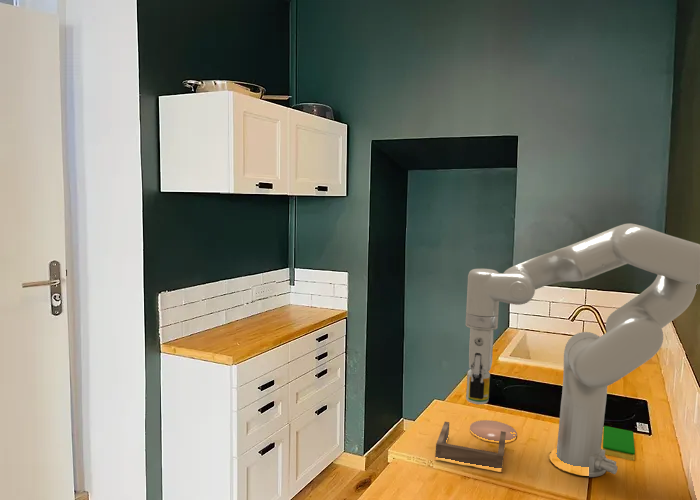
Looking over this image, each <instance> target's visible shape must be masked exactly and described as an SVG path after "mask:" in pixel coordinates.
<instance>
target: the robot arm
mask: <svg viewBox="0 0 700 500" xmlns="http://www.w3.org/2000/svg"><path fill="white" fill-rule="evenodd" d="M625 265H630V266H633V267H635V268H638V269H641V270H644V271H647V272H650V273H652V274H655V275H657V276H656V277H655V279H654V280H653V282H652V283H651V284H650V285H649V286H648V287H647V288H645V289H644V290H643V291H642V292H640V293H639V294H638V295H636V296H635V297H634V298H631V299H630V300H629V301H627V302H626V303H625V304H624V305H621V306H620V307H619V308H617V309H616V310H614V311H613V312H611V313H610V314H609V316H608V317H607V318H606V320H605V321H606V322H605V330H606V332H605V333H603V334H602V335H601V336H599V335H598V334H596V333H593V332H588V331H582V332H577V333H575V334H574V335H572V336H571V337H570V338H569V339H568V340H567V342H566V343H565V346H564V351H563V381H562V391H561V393H562V394H561V400H560V411H559V421H558V422H559V423H558V434H557V435H558V436H557V444H556V448H557V453H556V454H557V457H558V458H559V459H560V460H561V461H563V462H564V463H567V464H570V465H573V466H581V467H589V477H588V478H596V477H600V476H603V475H604V474H606V472H608V473H610V474H613V475H616V474H617V472H618V466H617V461H615V460H613V459H610V458H607V456H606V455H605V450H603V449H602V445H603V429H604V426H605V425H604V423H605V414H606V405H607V395H608V387H609V386H610V385H613V384H614V383H616V382H618V381H620V380H621V379H623V378H625V377H626V376H627V375H628V374H630V373H632V372H633V371H635V370H636V369H637V368H639V367H641V366H642V365H644V364H646V362H649V361H650V360H651V359H652V358H653V357H654V356H655V355H656V354H657V353H658V352H659V351H660V349H661V347H662V345H663V343H664V332H663V328H664V327H666V326H667V325H669V324H670V323H671V322H672V321H674V320H675V319H677V318H678V317H679V316H680V315H682V314H683V313H684V312H685V311H686V310H687V309H688V308H689V307H690V305H691V304H692V302H693V300H694V299H695V298H694V297H695V295H696V292H697V289H696V285H697V284H698V285H700V243H697V242H694V241H689V240H688V239H687V240H686V239H684V238H680V237H677V236H673V235H670V234H666V233H664V232H661V231H658V230H655V229H652V228H649V227H647V226H644V225H641V224H640V225H639V224H635V223H623V224H620V225H617V226H614V227H612V228H610V229H608V230H605V231H603V232H600V233H597V234H595V235H592V236H590V237H588V238H585V239H583V240H580V241H578V242H575V243H572V244H569V245H567V246H565V247H561V248H557V249H556V250H553V251H550V252H547V253H544V254H541V255H538V256H535V257H533V258H530V259H528V260H525V261H523V262H520V263H518V264H515V265H513V266H510V267H509V268H507V269H506V270H504V272H503V273H501V272H499V271H497V270H495V269H492V268H473V269H471V270H470V271H469V272H468V275H467V287H466V289H467V290H466V292H467V293H466V309H465V310H466V311H465V327H467V328H469V341H468V342H469V343H468V344H469V345H468V349H469V350H468V368H469V370H470V369H471V370H472V376H471V381H470V397H471V398H478V399H483V397H484V382H483V377H484V370H487V372H490V371H491V369H492V364H493V351H494V350H493V349H494V331H495V330H497V329H498V327H499V326H498V325H499V309H500V307H499V306H500V302H501V303H505V304H509V305H516V306H519V305H520V306H521V305H525V304H528V303H529V302H530V301H531V300H532V299H533V298H534V296H535V293H536V290H538V289H540V288H543V287H545V286H549V285H553V284H556V283H562V282H580V281H585V280H589V279H591V278H594V277H597V276H599V275H601V274H604V273H606V272H609V271H612V270H614V269H617V268H620V267H623V266H625ZM698 285H697V286H698ZM480 367H482V369H480ZM480 372H481V374H480Z"/></svg>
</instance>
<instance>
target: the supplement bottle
mask: <svg viewBox="0 0 700 500" xmlns="http://www.w3.org/2000/svg"><path fill="white" fill-rule="evenodd" d="M480 369H482V367H480ZM480 374H481V372H480ZM466 375H467V377H466V394H465V399H466V401H467V402H469V403H472V404H475V405H485V404H487V403H488V402H489V398H490V385H491V384H490V381H491V373H490V371H488V372H487V370H484V377H483V382H484V397H483V399H478V398H471V397H470V381H471V376H472V370H471V369H470V368H469V370H467V373H466Z"/></svg>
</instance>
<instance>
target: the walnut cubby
mask: <svg viewBox="0 0 700 500" xmlns="http://www.w3.org/2000/svg"><path fill="white" fill-rule="evenodd" d="M449 432H450V422H449V421H444V423H443V425H442V427H441V430H440V433H439V436H438V438H437V440H436V443H435V453H434V456H435V457H438V458H445V459H451V460H455V461H459V462H464V463H470V464H476V465H482V466H489V467H494V468H502V469H503V466H504V458H503V456H505V449H506V448H505V447H506V443H505V437H506V432H503V431H501V434H500V441H499V444H498V449H497V452H495V451H491V450H490V451H489V450H484V449H480V448H479V449H478V448H473V447H467V446H461V445H458V444H457V445H456V444H451V443H446V440H447V438H448V439H449V437H448V435H450V434H449ZM447 441H448V440H447ZM504 448H505V449H504ZM435 457H434V458H435ZM502 465H503V466H502Z"/></svg>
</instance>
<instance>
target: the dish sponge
mask: <svg viewBox="0 0 700 500" xmlns="http://www.w3.org/2000/svg"><path fill="white" fill-rule="evenodd" d="M634 437H635V436H634V431H632V430H627V429H623V428H617V427H612V426H608V425H603V434H602V447H601V449H603V450H605V456H606V455H607V456H610V457H614V458H619V459H623V460H628V461H635V455H636V449H635V448H636V447H635V438H634Z"/></svg>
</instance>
